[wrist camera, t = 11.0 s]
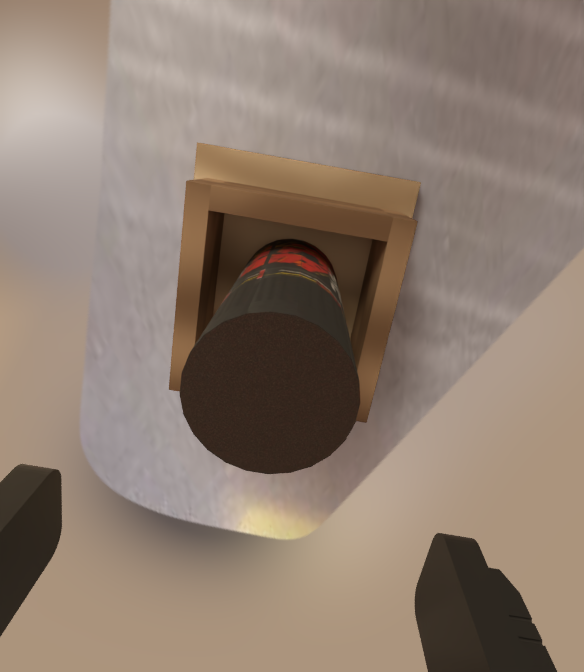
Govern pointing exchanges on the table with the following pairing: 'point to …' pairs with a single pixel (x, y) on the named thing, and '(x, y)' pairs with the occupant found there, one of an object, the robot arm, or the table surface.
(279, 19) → the table surface
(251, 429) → the deodorant
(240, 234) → the holder
